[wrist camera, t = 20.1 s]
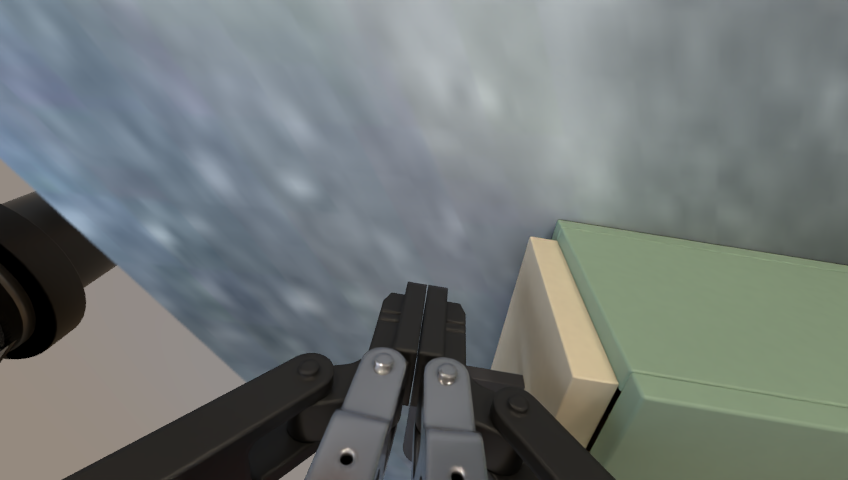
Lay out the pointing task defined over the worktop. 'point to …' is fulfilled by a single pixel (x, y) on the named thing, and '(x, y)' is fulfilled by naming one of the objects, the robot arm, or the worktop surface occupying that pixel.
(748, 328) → the cabinet
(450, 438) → the robot arm
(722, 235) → the worktop surface
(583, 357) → the drawer
